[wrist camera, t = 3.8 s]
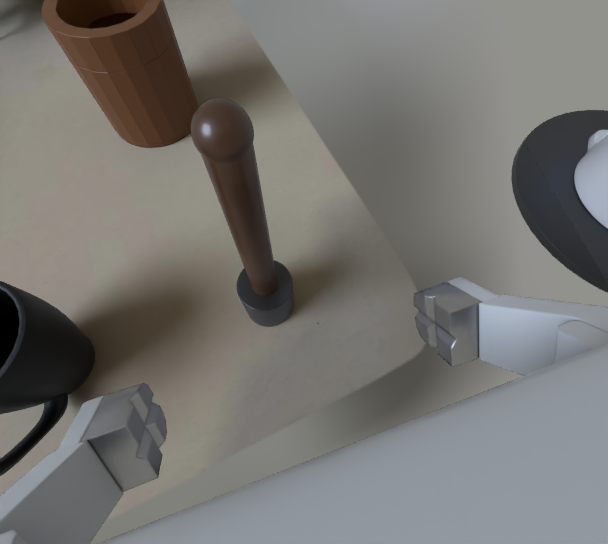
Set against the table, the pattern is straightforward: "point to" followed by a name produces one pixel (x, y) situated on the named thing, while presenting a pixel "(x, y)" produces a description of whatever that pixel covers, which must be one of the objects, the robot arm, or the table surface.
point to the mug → (38, 362)
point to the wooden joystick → (243, 207)
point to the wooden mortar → (128, 65)
